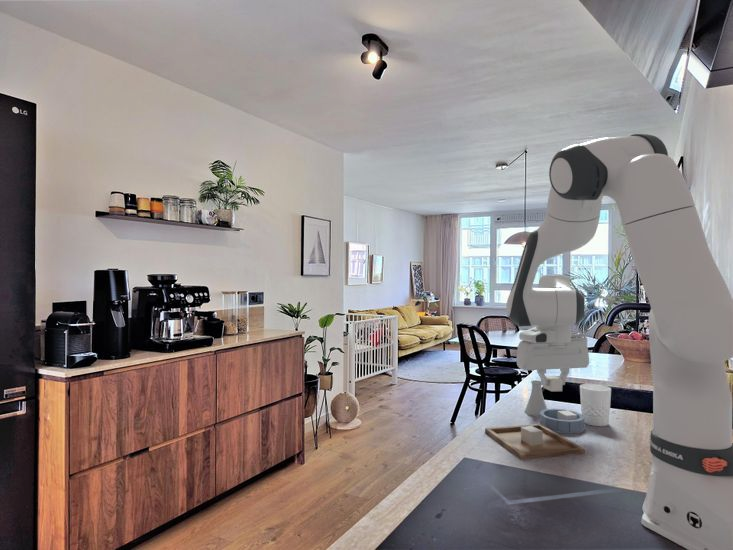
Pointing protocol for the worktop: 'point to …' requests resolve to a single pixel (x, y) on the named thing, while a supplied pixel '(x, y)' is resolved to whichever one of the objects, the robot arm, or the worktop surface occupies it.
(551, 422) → the bowl
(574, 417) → the white small block
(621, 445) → the worktop surface
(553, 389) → the cream small block
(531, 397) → the flask
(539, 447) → the tray
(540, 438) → the cream white small block
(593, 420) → the white cup
